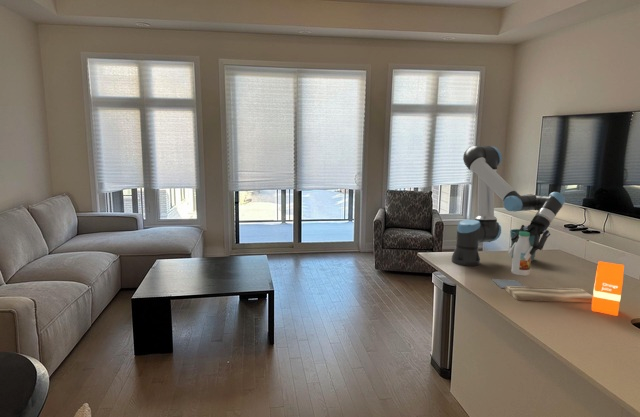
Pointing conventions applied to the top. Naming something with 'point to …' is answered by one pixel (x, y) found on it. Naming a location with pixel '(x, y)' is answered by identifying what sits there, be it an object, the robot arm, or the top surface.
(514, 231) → the flower pot
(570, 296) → the oak board
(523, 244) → the milk bottle
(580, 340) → the top surface
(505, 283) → the plate
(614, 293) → the orange juice
